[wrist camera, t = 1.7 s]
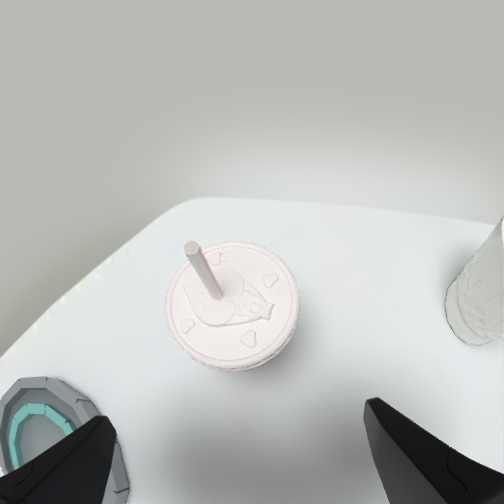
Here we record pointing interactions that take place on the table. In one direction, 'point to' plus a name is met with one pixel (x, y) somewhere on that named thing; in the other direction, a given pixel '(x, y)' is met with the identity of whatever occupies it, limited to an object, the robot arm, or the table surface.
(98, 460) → the robot arm
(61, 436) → the tray
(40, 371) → the table surface
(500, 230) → the white cup
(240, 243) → the smoothie
